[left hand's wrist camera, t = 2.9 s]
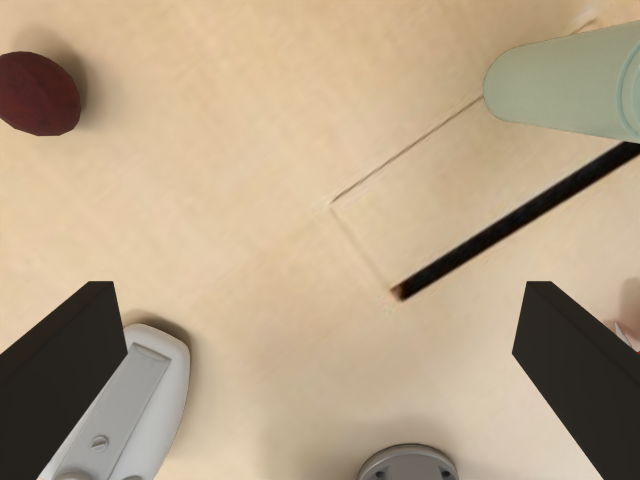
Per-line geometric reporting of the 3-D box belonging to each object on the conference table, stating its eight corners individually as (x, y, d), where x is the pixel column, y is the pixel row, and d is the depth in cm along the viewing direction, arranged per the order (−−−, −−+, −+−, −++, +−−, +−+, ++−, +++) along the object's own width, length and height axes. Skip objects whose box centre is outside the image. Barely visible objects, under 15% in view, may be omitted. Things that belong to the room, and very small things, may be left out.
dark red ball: (55, 39, 39) (1, 28, 32) (111, 108, 41) (71, 111, 34) (5, 84, 40) (-57, 82, 34) (62, 148, 42) (14, 158, 36)
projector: (238, 434, 57) (213, 543, 43) (97, 469, 59) (31, 582, 46) (173, 307, 49) (117, 390, 36) (15, 353, 52) (-94, 447, 38)
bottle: (475, 63, 40) (713, 22, 16) (547, 33, 39) (917, -59, 15) (491, 132, 42) (719, 187, 18) (559, 106, 41) (895, 127, 17)
